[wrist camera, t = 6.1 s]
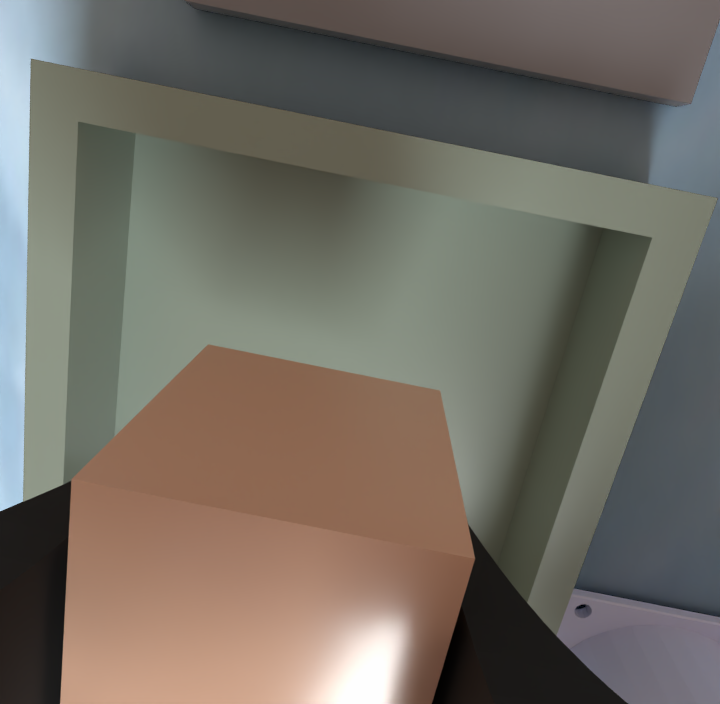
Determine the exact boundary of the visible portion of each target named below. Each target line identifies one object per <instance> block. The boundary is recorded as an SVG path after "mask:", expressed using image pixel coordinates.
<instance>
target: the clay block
mask: <svg viewBox="0 0 720 704" xmlns="http://www.w3.org/2000/svg"><path fill="white" fill-rule="evenodd" d="M474 561H475V556H474V551H473V546H472V541H471V537H470V532H469V527H468V522H467V517H466V513H465V508H464V503H463V498H462V493H461V488H460V484H459V479H458V474H457V469H456V464H455V460H454V455H453V450H452V445H451V440H450V436H449V431H448V426H447V421H446V416H445V412H444V407H443V402H442V397H441V392H440V390H435V389H430V388H425V387H420V386H415V385H410V384H405V383H400V382H395V381H390V380H385V379H380V378H375V377H370V376H365V375H360V374H355V373H350V372H345V371H340V370H335V369H330V368H325V367H320V366H315V365H310V364H305V363H300V362H295V361H290V360H284V359H279V358H274V357H269V356H264V355H259V354H254V353H249V352H244V351H239V350H234V349H229V348H224V347H219V346H214V345H209V344H208V345H207V346H206V347H205V348H204V349H203V350H202V351H201V352H200V353H199V354H198V355H197V356H196V357H195V358H194V359H193V360H192V361H191V362H190V363H189V364H188V365H187V366H186V367H185V368H184V369H183V370H182V371H180V372H179V373H178V374H177V375H176V376H175V377H174V378H173V379H172V380H171V381H170V382H169V383H168V384H167V385H166V386H165V387H164V388H163V389H162V390H161V391H160V392H159V393H158V394H157V395H156V396H155V397H154V398H153V399H152V400H151V401H150V402H149V403H148V404H147V405H146V406H145V407H144V408H143V409H142V410H141V411H140V412H139V413H138V414H137V415H136V416H135V417H134V418H133V419H132V420H131V421H130V422H129V423H128V424H127V425H126V426H125V427H124V428H123V429H122V430H121V431H120V432H119V433H118V434H117V435H116V436H115V437H114V438H113V439H112V440H111V441H110V442H109V443H108V444H107V445H106V446H105V447H104V448H103V449H102V450H101V451H100V452H98V453H97V454H96V455H95V456H94V457H93V458H92V459H91V460H90V461H89V462H88V463H87V464H86V465H85V466H84V467H83V468H82V469H81V470H80V471H79V472H78V473H77V474H76V475H75V476H74V477H73V478H72V480H71V500H70V520H69V540H68V559H67V579H66V599H65V619H64V639H63V659H62V679H61V698H60V704H432V701H433V698H434V695H435V691H436V688H437V685H438V681H439V678H440V675H441V671H442V668H443V665H444V661H445V658H446V655H447V651H448V648H449V644H450V641H451V638H452V634H453V631H454V628H455V624H456V621H457V618H458V614H459V611H460V608H461V604H462V601H463V598H464V594H465V591H466V588H467V584H468V581H469V577H470V574H471V571H472V567H473V564H474Z"/></svg>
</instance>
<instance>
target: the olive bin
mask: <svg viewBox="0 0 720 704" xmlns="http://www.w3.org/2000/svg"><path fill="white" fill-rule="evenodd" d="M717 200H718V198H715V197H710V196H705V195H700V194H695V193H690V192H685V191H680V190H675V189H670V188H665V187H661V186H656V185H651V184H646V183H641V182H636V181H631V180H626V179H621V178H616V177H611V176H606V175H601V174H596V173H592V172H587V171H582V170H577V169H572V168H567V167H562V166H557V165H552V164H547V163H542V162H537V161H532V160H527V159H522V158H518V157H513V156H508V155H503V154H498V153H493V152H488V151H483V150H478V149H473V148H468V147H463V146H458V145H453V144H449V143H444V142H439V141H434V140H429V139H424V138H419V137H414V136H409V135H404V134H399V133H394V132H389V131H384V130H380V129H375V128H370V127H365V126H360V125H355V124H350V123H345V122H340V121H335V120H330V119H325V118H320V117H315V116H310V115H306V114H301V113H296V112H291V111H286V110H281V109H276V108H271V107H266V106H261V105H256V104H251V103H246V102H241V101H237V100H232V99H227V98H222V97H217V96H212V95H207V94H202V93H197V92H192V91H187V90H182V89H177V88H172V87H167V86H163V85H158V84H153V83H148V82H143V81H138V80H133V79H128V78H123V77H118V76H113V75H108V74H103V73H98V72H94V71H89V70H84V69H79V68H74V67H69V66H64V65H59V64H54V63H49V62H44V61H39V60H34V59H31V79H30V137H29V194H28V252H27V310H26V367H25V425H24V482H23V502H24V501H26V500H28V499H31V498H33V497H36V496H38V495H40V494H43V493H45V492H47V491H50V490H52V489H54V488H57V487H59V486H61V485H63V484H65V483H67V482H69V481H71V480H72V478H73V477H74V476H75V475H76V474H77V473H78V472H79V471H80V470H81V469H82V468H83V467H84V466H85V465H86V464H87V463H88V462H89V461H90V460H91V459H92V458H93V457H94V456H95V455H96V454H97V453H98V452H100V451H101V450H102V449H103V448H104V447H105V446H106V445H107V444H108V443H109V442H110V441H111V440H112V439H113V438H114V437H115V436H116V435H117V434H118V433H119V432H120V431H121V430H122V429H123V428H124V427H125V426H126V425H127V424H128V423H129V422H130V421H131V420H132V419H133V418H134V417H135V416H136V415H137V414H138V413H139V412H140V411H141V410H142V409H143V408H144V407H145V406H146V405H147V404H148V403H149V402H150V401H151V400H152V399H153V398H154V397H155V396H156V395H157V394H158V393H159V392H160V391H161V390H162V389H163V388H164V387H165V386H166V385H167V384H168V383H169V382H170V381H171V380H172V379H173V378H174V377H175V376H176V375H177V374H178V373H179V372H180V371H182V370H183V369H184V368H185V367H186V366H187V365H188V364H189V363H190V362H191V361H192V360H193V359H194V358H195V357H196V356H197V355H198V354H199V353H200V352H201V351H202V350H203V349H204V348H205V347H206V346H207V345H208V344H209V345H214V346H219V347H224V348H229V349H234V350H239V351H244V352H249V353H254V354H259V355H264V356H269V357H274V358H279V359H284V360H290V361H295V362H300V363H305V364H310V365H315V366H320V367H325V368H330V369H335V370H340V371H345V372H350V373H355V374H360V375H365V376H370V377H375V378H380V379H385V380H390V381H395V382H400V383H405V384H410V385H415V386H420V387H425V388H430V389H435V390H440V392H441V397H442V402H443V407H444V412H445V416H446V421H447V426H448V431H449V436H450V440H451V445H452V450H453V455H454V460H455V464H456V469H457V474H458V479H459V484H460V488H461V493H462V498H463V503H464V508H465V513H466V517H467V522H468V524H469V526H470V527H471V529H472V530H473V532H474V533H475V535H476V536H477V537H478V539H479V540H480V542H481V543H482V545H483V546H484V547H485V549H486V550H487V552H488V553H489V554H490V556H491V557H492V558H493V560H494V561H495V563H496V564H497V565H498V567H499V568H500V569H501V571H502V572H503V573H504V575H505V576H506V577H507V578H508V580H509V581H510V582H511V584H512V585H513V586H514V587H515V589H516V590H517V591H518V592H519V594H520V595H521V596H522V597H523V598H524V600H525V601H526V602H527V603H528V604H529V605H530V607H531V608H532V609H533V610H534V611H535V612H536V614H537V615H538V616H539V617H540V618H541V619H542V621H543V622H544V623H545V624H546V625H547V626H548V627H549V628H550V629H551V631H552V632H553V633H554V634H555V635H557V633H558V630H559V627H560V625H561V622H562V619H563V616H564V614H565V611H566V608H567V606H568V603H569V600H570V598H571V595H572V592H573V589H574V587H575V584H576V581H577V579H578V576H579V573H580V570H581V568H582V565H583V562H584V560H585V557H586V554H587V551H588V549H589V546H590V543H591V541H592V538H593V535H594V533H595V530H596V527H597V524H598V522H599V519H600V516H601V514H602V511H603V508H604V505H605V503H606V500H607V497H608V495H609V492H610V489H611V487H612V484H613V481H614V478H615V476H616V473H617V470H618V468H619V465H620V462H621V459H622V457H623V454H624V451H625V449H626V446H627V443H628V440H629V438H630V435H631V432H632V430H633V427H634V424H635V422H636V419H637V416H638V413H639V411H640V408H641V405H642V403H643V400H644V397H645V394H646V392H647V389H648V386H649V384H650V381H651V378H652V376H653V373H654V370H655V367H656V365H657V362H658V359H659V357H660V354H661V351H662V348H663V346H664V343H665V340H666V338H667V335H668V332H669V329H670V327H671V324H672V321H673V319H674V316H675V313H676V311H677V308H678V305H679V302H680V300H681V297H682V294H683V292H684V289H685V286H686V283H687V281H688V278H689V275H690V273H691V270H692V267H693V265H694V262H695V259H696V256H697V254H698V251H699V248H700V246H701V243H702V240H703V237H704V235H705V232H706V229H707V227H708V224H709V221H710V218H711V216H712V213H713V210H714V208H715V205H716V202H717Z"/></svg>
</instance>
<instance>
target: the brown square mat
mask: <svg viewBox="0 0 720 704" xmlns="http://www.w3.org/2000/svg"><path fill="white" fill-rule="evenodd" d="M184 1H186V2H187V3H188V4H190V5H191V6H192V7H194V8H195V9H199V10H204V11H209V12H214V13H219V14H224V15H229V16H233V17H238V18H243V19H248V20H253V21H258V22H263V23H268V24H273V25H278V26H283V27H287V28H292V29H297V30H302V31H307V32H312V33H317V34H322V35H327V36H332V37H337V38H341V39H346V40H351V41H356V42H361V43H366V44H371V45H376V46H381V47H386V48H391V49H395V50H400V51H405V52H410V53H415V54H420V55H425V56H430V57H435V58H440V59H444V60H449V61H454V62H459V63H464V64H469V65H474V66H479V67H484V68H489V69H494V70H498V71H503V72H508V73H513V74H518V75H523V76H528V77H533V78H538V79H543V80H548V81H552V82H557V83H562V84H567V85H572V86H577V87H582V88H587V89H592V90H597V91H602V92H606V93H611V94H616V95H621V96H626V97H631V98H636V99H641V100H646V101H651V102H655V103H660V104H665V105H670V106H675V107H677V106H682V105H688V104H691V102H692V99H693V96H694V94H695V91H696V88H697V85H698V82H699V79H700V76H701V73H702V70H703V67H704V64H705V61H706V58H707V55H708V52H709V49H710V46H711V43H712V40H713V38H714V35H715V32H716V29H717V26H718V23H719V20H720V0H184Z"/></svg>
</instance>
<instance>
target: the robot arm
mask: <svg viewBox="0 0 720 704" xmlns="http://www.w3.org/2000/svg"><path fill="white" fill-rule="evenodd" d="M70 500H71V481H69V482H67V483H65V484H63V485H61V486H59V487H57V488H54V489H52V490H50V491H47V492H45V493H43V494H40V495H38V496H36V497H33V498H31V499H28V500H26V501H24V502H21V503H19V504H17V505H14V506H12V507H10V508H7V509H5V510H3V511H0V704H60V698H61V679H62V659H63V639H64V619H65V599H66V579H67V559H68V540H69V520H70ZM468 527H469V532H470V537H471V541H472V546H473V551H474V556H475V561H474V564H473V567H472V571H471V574H470V577H469V581H468V584H467V588H466V591H465V594H464V598H463V601H462V604H461V608H460V611H459V614H458V618H457V621H456V624H455V628H454V631H453V634H452V638H451V641H450V644H449V648H448V651H447V655H446V658H445V661H444V665H443V668H442V671H441V675H440V678H439V681H438V685H437V688H436V691H435V695H434V698H433V701H432V704H720V617H716V616H711V615H706V614H701V613H696V612H690V611H685V610H680V609H675V608H670V607H665V606H660V605H655V604H650V603H645V602H640V601H635V600H630V599H625V598H620V597H615V596H610V595H605V594H600V593H594V592H589V591H584V590H579V589H573V592H572V595H571V598H570V600H569V603H568V606H567V608H566V611H565V614H564V616H563V619H562V622H561V625H560V627H559V630H558V633H557V635H555V634H554V633H553V632H552V631H551V629H550V628H549V627H548V626H547V625H546V624H545V623H544V622H543V621H542V619H541V618H540V617H539V616H538V615H537V614H536V612H535V611H534V610H533V609H532V608H531V607H530V605H529V604H528V603H527V602H526V601H525V600H524V598H523V597H522V596H521V595H520V594H519V592H518V591H517V590H516V589H515V587H514V586H513V585H512V584H511V582H510V581H509V580H508V578H507V577H506V576H505V575H504V573H503V572H502V571H501V569H500V568H499V567H498V565H497V564H496V563H495V561H494V560H493V558H492V557H491V556H490V554H489V553H488V552H487V550H486V549H485V547H484V546H483V545H482V543H481V542H480V540H479V539H478V537H477V536H476V535H475V533H474V532H473V530H472V529H471V527H470V526H469V524H468ZM581 604H586V605H587V606H586V607H584V608H582V609H576V607H577V606H579V605H581Z"/></svg>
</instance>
